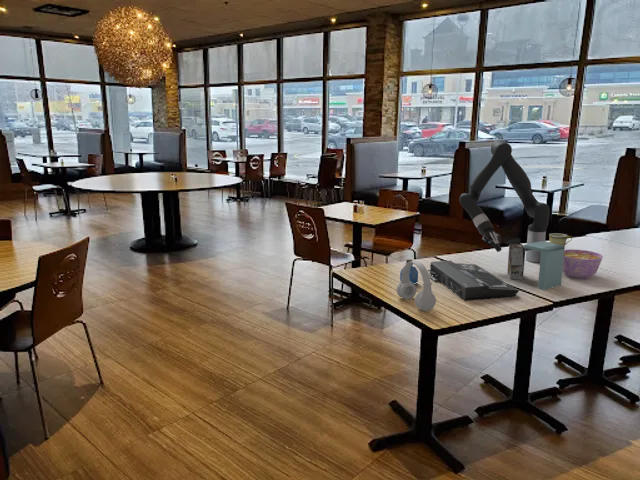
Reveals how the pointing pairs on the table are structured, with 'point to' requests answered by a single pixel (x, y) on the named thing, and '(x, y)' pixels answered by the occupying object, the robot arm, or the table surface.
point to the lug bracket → (548, 263)
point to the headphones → (408, 289)
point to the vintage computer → (470, 281)
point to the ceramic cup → (558, 238)
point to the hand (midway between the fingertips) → (499, 250)
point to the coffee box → (516, 261)
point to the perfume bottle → (411, 273)
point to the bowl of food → (581, 263)
